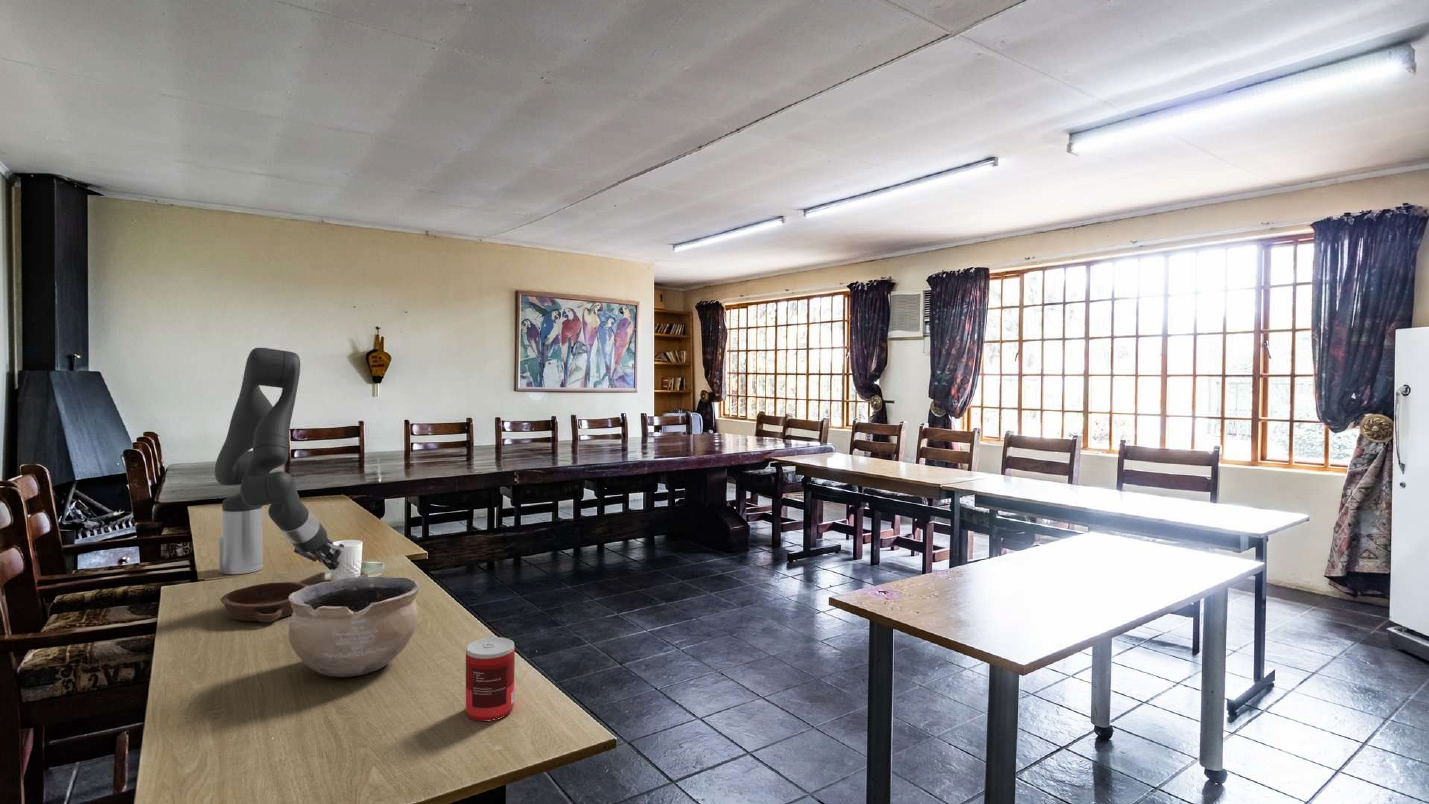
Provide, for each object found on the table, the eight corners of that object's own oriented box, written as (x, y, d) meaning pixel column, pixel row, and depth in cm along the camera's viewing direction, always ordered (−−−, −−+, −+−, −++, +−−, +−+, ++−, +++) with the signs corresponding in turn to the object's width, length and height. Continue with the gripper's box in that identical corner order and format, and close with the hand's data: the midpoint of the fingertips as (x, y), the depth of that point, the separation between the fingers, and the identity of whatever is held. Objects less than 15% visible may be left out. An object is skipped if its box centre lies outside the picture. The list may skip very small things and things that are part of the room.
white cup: (322, 582, 187) (322, 544, 187) (348, 574, 194) (348, 538, 194) (343, 586, 184) (343, 548, 184) (369, 578, 191) (369, 541, 191)
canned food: (496, 696, 122) (496, 633, 122) (524, 710, 117) (524, 644, 117) (455, 711, 116) (455, 645, 116) (483, 727, 111) (483, 658, 111)
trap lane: (281, 596, 175) (281, 584, 174) (340, 571, 198) (339, 560, 198) (331, 599, 173) (331, 586, 173) (384, 572, 197) (384, 562, 197)
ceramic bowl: (269, 698, 120) (269, 611, 120) (306, 650, 141) (306, 576, 141) (410, 685, 126) (410, 602, 126) (425, 641, 147) (426, 569, 146)
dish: (218, 635, 149) (217, 612, 149) (223, 606, 168) (223, 585, 167) (313, 621, 158) (313, 599, 158) (308, 595, 177) (308, 575, 177)
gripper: (335, 517, 174) (364, 555, 187) (285, 515, 176) (317, 553, 188) (321, 543, 169) (352, 580, 182) (269, 541, 170) (303, 578, 183)
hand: (334, 566), depth 185 cm, fingers closed
